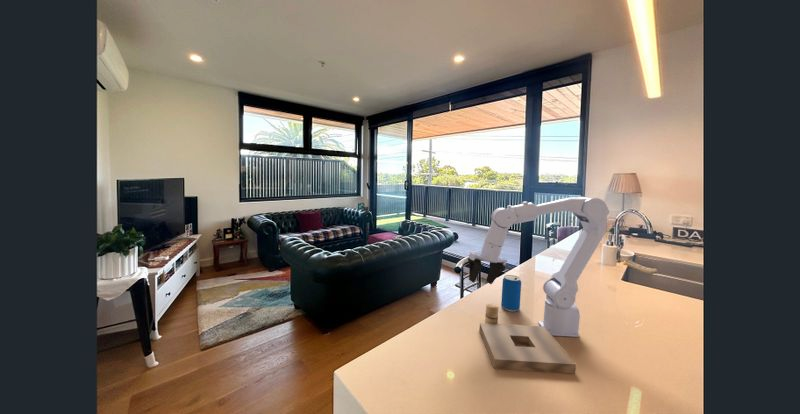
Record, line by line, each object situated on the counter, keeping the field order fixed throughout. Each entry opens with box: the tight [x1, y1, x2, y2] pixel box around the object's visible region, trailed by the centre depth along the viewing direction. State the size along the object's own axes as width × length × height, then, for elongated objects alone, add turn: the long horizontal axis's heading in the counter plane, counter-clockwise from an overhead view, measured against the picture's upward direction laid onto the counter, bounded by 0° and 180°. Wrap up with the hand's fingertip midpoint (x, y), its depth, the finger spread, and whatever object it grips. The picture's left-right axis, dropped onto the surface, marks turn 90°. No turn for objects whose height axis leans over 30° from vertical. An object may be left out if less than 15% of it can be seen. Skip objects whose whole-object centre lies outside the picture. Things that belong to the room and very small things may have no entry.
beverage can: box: [501, 274, 522, 312], centre depth 105 cm, size 6×6×12 cm
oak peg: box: [484, 303, 499, 324], centre depth 94 cm, size 4×4×6 cm
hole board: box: [478, 322, 577, 375], centre depth 80 cm, size 20×18×2 cm
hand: (480, 281), depth 93 cm, fingers open, 7 cm apart
